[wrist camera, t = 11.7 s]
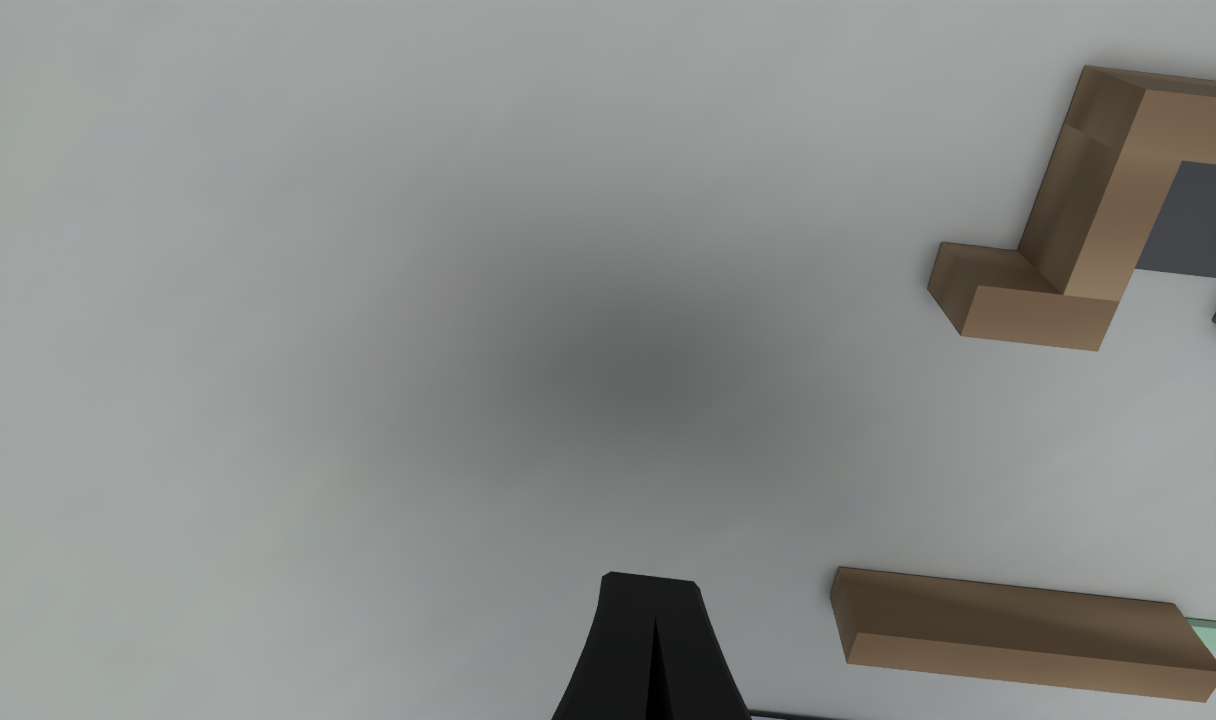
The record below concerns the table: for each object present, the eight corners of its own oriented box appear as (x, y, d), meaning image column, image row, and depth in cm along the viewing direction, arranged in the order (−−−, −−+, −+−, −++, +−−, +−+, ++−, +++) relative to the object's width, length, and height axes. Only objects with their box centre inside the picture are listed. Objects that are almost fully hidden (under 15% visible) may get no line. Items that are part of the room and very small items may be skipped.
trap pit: (1231, 275, 20) (1239, 280, 20) (1072, 257, 20) (1077, 261, 20) (1294, 149, 18) (1303, 153, 18) (1123, 129, 18) (1130, 133, 18)
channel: (1157, 633, 25) (1205, 702, 23) (829, 596, 25) (846, 663, 23) (1466, 110, 18) (1580, 140, 16) (1001, 55, 18) (1049, 78, 16)
